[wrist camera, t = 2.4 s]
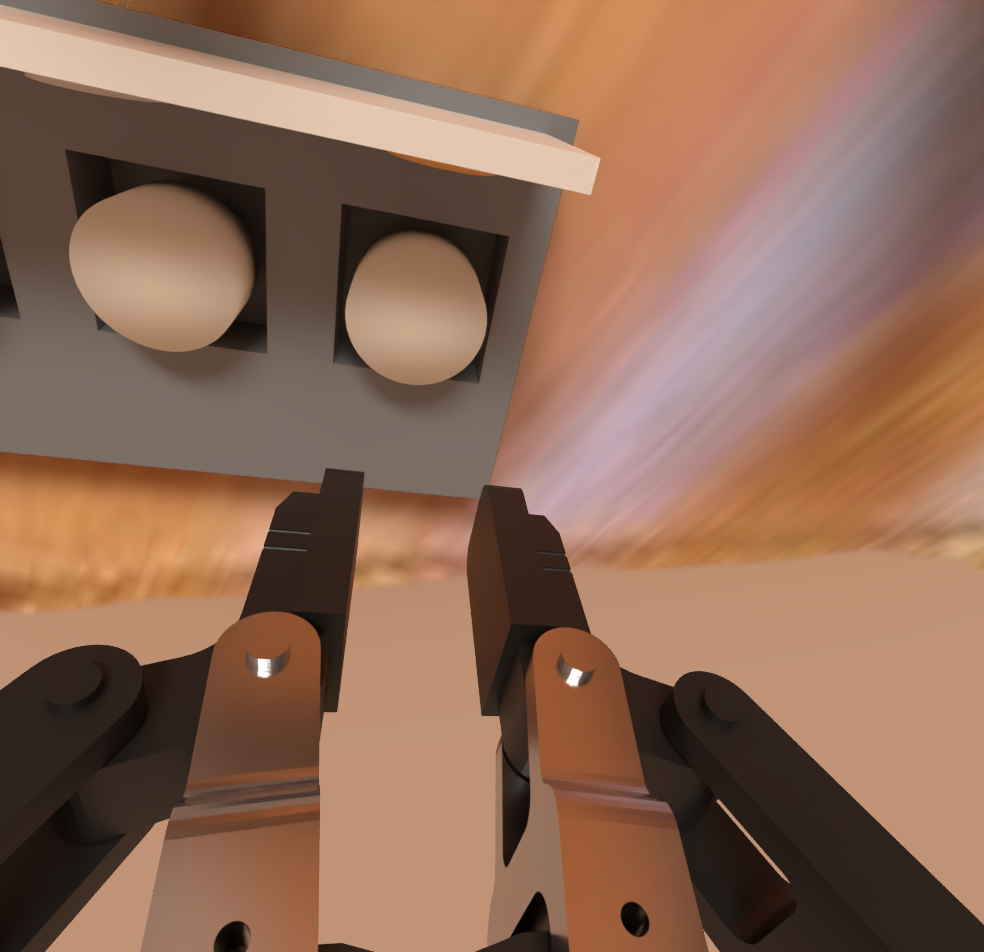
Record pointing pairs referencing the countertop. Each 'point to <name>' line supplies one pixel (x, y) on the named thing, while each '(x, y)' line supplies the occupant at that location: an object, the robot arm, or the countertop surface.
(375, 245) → the button
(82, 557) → the countertop surface
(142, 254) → the button middle
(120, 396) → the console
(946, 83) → the countertop surface
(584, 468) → the countertop surface
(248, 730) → the robot arm
